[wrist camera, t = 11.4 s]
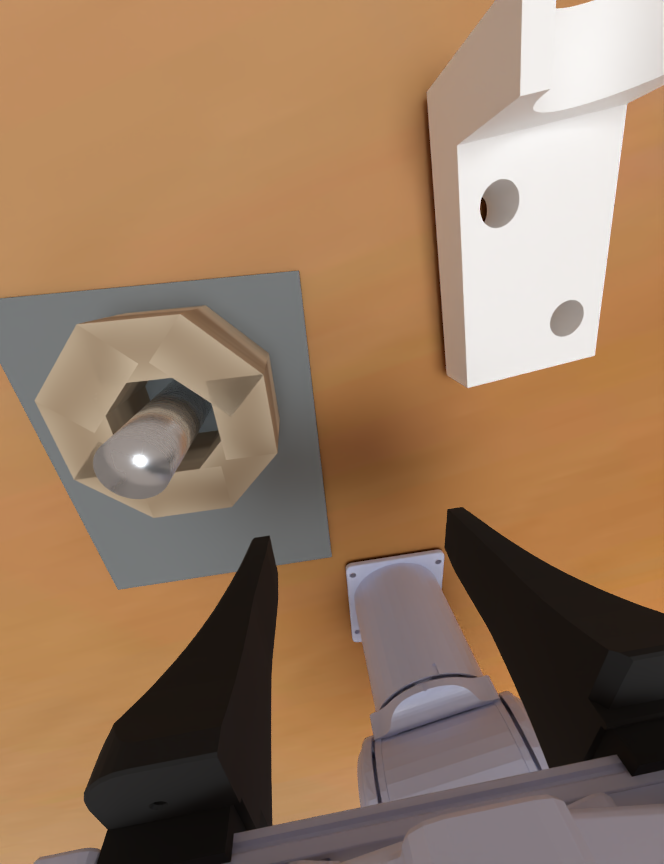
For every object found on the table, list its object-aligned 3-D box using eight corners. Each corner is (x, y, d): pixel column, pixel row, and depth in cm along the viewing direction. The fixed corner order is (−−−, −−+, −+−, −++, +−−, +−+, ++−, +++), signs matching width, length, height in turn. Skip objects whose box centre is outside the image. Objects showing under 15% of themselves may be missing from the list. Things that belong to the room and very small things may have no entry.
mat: (331, 554, 26) (331, 556, 26) (119, 586, 25) (118, 589, 25) (298, 270, 17) (298, 270, 17) (-27, 301, 16) (-32, 301, 16)
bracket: (418, 102, 15) (523, -37, 9) (566, 66, 15) (785, -100, 9) (440, 371, 21) (513, 416, 14) (548, 343, 21) (672, 375, 14)
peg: (219, 414, 20) (179, 494, 13) (174, 420, 20) (109, 503, 13) (208, 372, 19) (158, 433, 12) (161, 377, 19) (80, 442, 11)
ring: (286, 457, 22) (285, 499, 18) (134, 477, 21) (97, 525, 17) (260, 299, 18) (251, 306, 13) (69, 318, 17) (-1, 331, 13)
